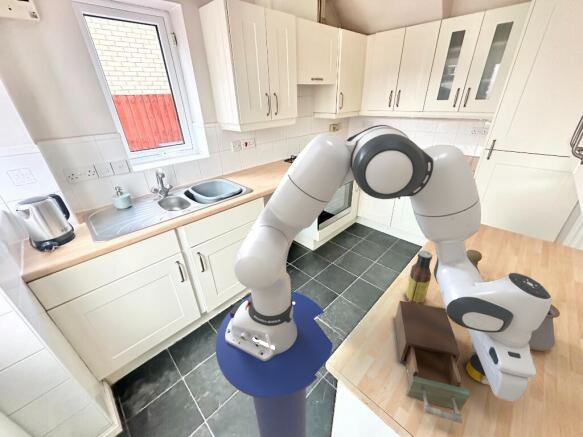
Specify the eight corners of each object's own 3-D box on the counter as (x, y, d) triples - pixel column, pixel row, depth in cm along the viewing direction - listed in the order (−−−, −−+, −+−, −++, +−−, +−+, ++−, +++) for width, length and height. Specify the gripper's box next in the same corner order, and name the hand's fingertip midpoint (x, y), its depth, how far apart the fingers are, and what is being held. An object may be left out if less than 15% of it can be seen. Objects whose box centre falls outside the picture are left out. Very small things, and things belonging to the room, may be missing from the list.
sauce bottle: (426, 298, 86) (441, 253, 77) (420, 309, 82) (435, 263, 73) (407, 289, 90) (419, 246, 81) (401, 299, 86) (413, 254, 77)
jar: (469, 379, 62) (474, 371, 61) (463, 360, 67) (467, 352, 65) (491, 384, 61) (497, 376, 59) (483, 365, 65) (489, 357, 64)
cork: (456, 267, 100) (464, 245, 95) (473, 271, 98) (483, 249, 93) (457, 276, 96) (466, 254, 90) (475, 281, 93) (486, 258, 88)
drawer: (467, 435, 52) (478, 420, 49) (410, 419, 55) (416, 403, 51) (444, 355, 67) (451, 340, 64) (400, 345, 70) (405, 330, 67)
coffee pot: (510, 315, 79) (531, 281, 72) (557, 343, 70) (585, 307, 63) (473, 345, 71) (492, 309, 63) (521, 382, 62) (550, 345, 54)
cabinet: (450, 374, 64) (461, 354, 60) (399, 362, 67) (406, 342, 63) (437, 327, 76) (445, 308, 72) (394, 319, 79) (399, 300, 75)
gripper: (468, 298, 66) (453, 331, 73) (504, 374, 49) (480, 408, 55) (495, 303, 65) (477, 336, 71) (542, 382, 47) (512, 417, 54)
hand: (479, 368), depth 63 cm, fingers closed on jar, 5 cm apart
